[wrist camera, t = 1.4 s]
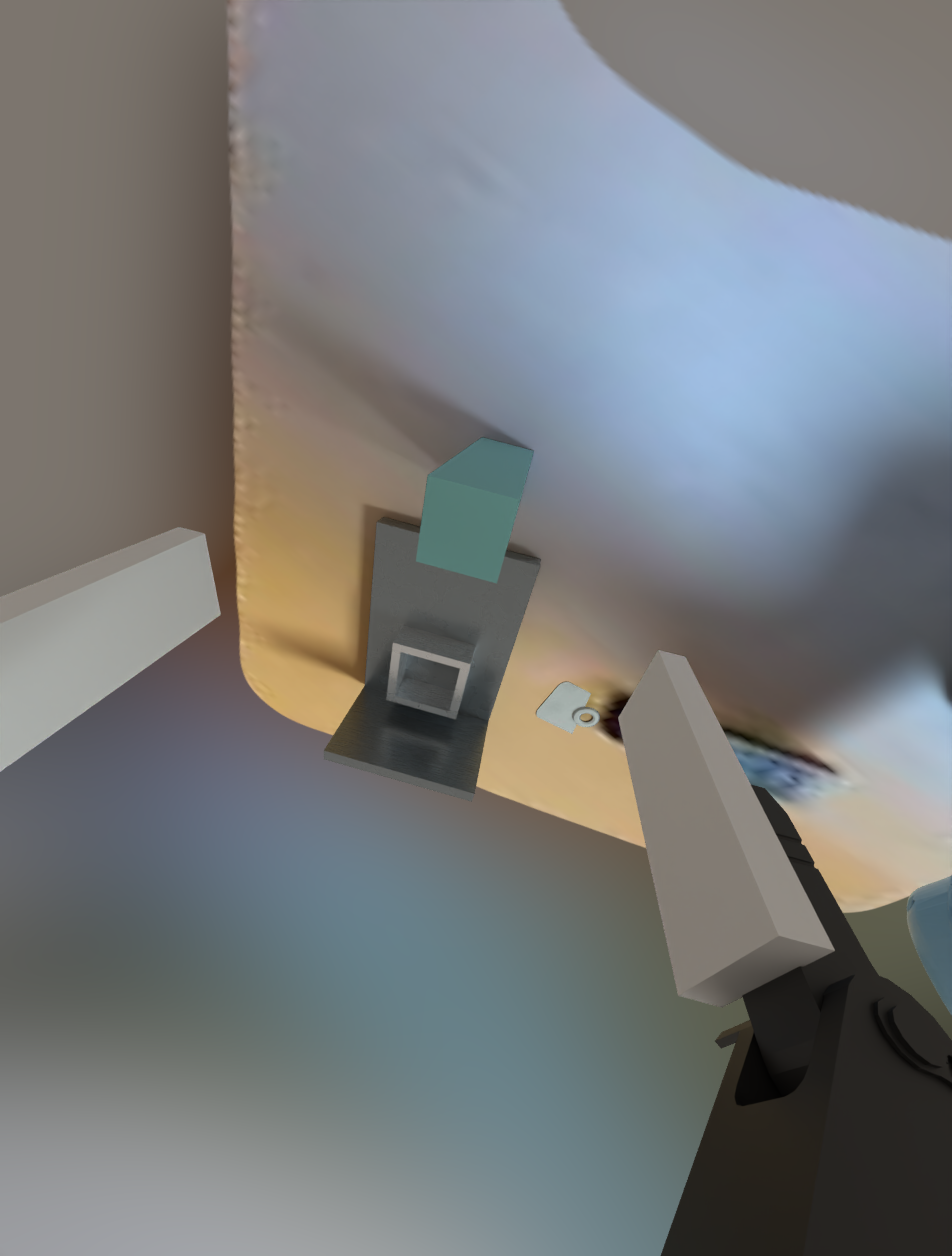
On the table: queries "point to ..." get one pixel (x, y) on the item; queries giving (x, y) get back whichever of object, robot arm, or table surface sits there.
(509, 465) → the teal block
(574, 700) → the mounting bracket
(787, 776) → the table surface
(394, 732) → the cup bracket
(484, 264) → the table surface
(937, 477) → the table surface
